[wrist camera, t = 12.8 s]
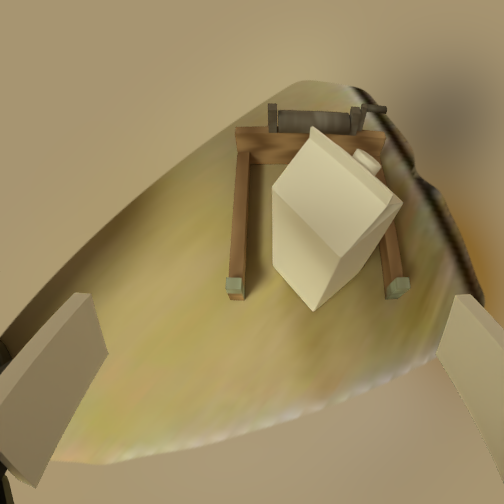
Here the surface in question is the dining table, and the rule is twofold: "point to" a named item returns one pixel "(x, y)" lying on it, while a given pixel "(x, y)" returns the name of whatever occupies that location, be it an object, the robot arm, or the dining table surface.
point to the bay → (282, 152)
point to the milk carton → (327, 217)
